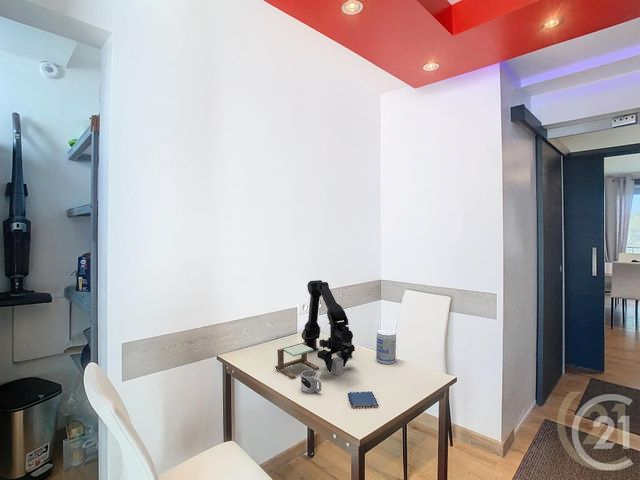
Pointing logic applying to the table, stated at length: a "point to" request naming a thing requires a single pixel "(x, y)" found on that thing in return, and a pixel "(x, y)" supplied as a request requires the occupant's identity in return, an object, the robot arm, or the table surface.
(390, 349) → the supplement tub
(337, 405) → the table surface
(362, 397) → the woven mat
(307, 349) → the trapdoor
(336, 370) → the grey rectangular block
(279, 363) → the frame
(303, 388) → the mug
